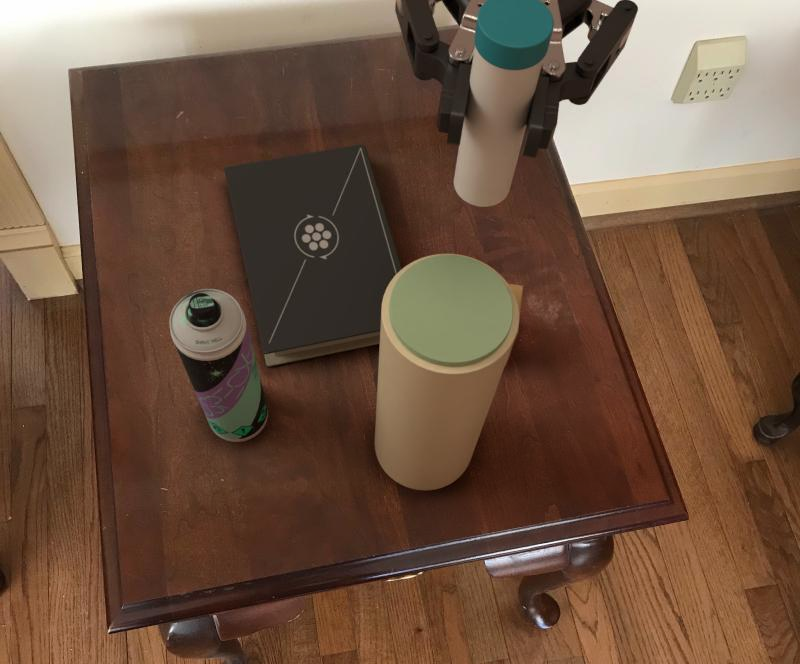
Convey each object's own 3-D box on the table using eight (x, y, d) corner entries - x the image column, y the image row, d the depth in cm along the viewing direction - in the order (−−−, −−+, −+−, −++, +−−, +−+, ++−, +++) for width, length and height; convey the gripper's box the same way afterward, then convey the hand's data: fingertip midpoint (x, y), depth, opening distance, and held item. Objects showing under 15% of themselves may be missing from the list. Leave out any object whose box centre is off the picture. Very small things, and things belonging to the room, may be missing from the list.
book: (418, 337, 81) (420, 321, 78) (266, 368, 78) (263, 353, 76) (366, 162, 89) (366, 142, 86) (227, 185, 87) (223, 166, 84)
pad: (447, 238, 56) (447, 233, 56) (536, 312, 54) (538, 307, 54) (363, 310, 54) (363, 306, 53) (454, 390, 52) (455, 386, 51)
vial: (449, 196, 51) (480, 4, 48) (507, 206, 51) (542, 13, 48) (443, 223, 41) (483, -19, 37) (515, 234, 41) (562, -7, 37)
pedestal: (421, 380, 79) (446, 230, 57) (493, 443, 76) (547, 312, 55) (354, 443, 76) (352, 310, 54) (425, 510, 74) (454, 401, 52)
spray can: (195, 416, 76) (144, 305, 58) (238, 376, 78) (201, 256, 60) (238, 454, 75) (199, 352, 57) (280, 412, 77) (256, 300, 58)
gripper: (413, -167, 46) (356, 61, 39) (666, -129, 46) (655, 108, 39) (406, -46, 53) (357, 167, 46) (626, -12, 53) (611, 208, 46)
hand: (494, 138), depth 42 cm, fingers closed on vial, 3 cm apart
